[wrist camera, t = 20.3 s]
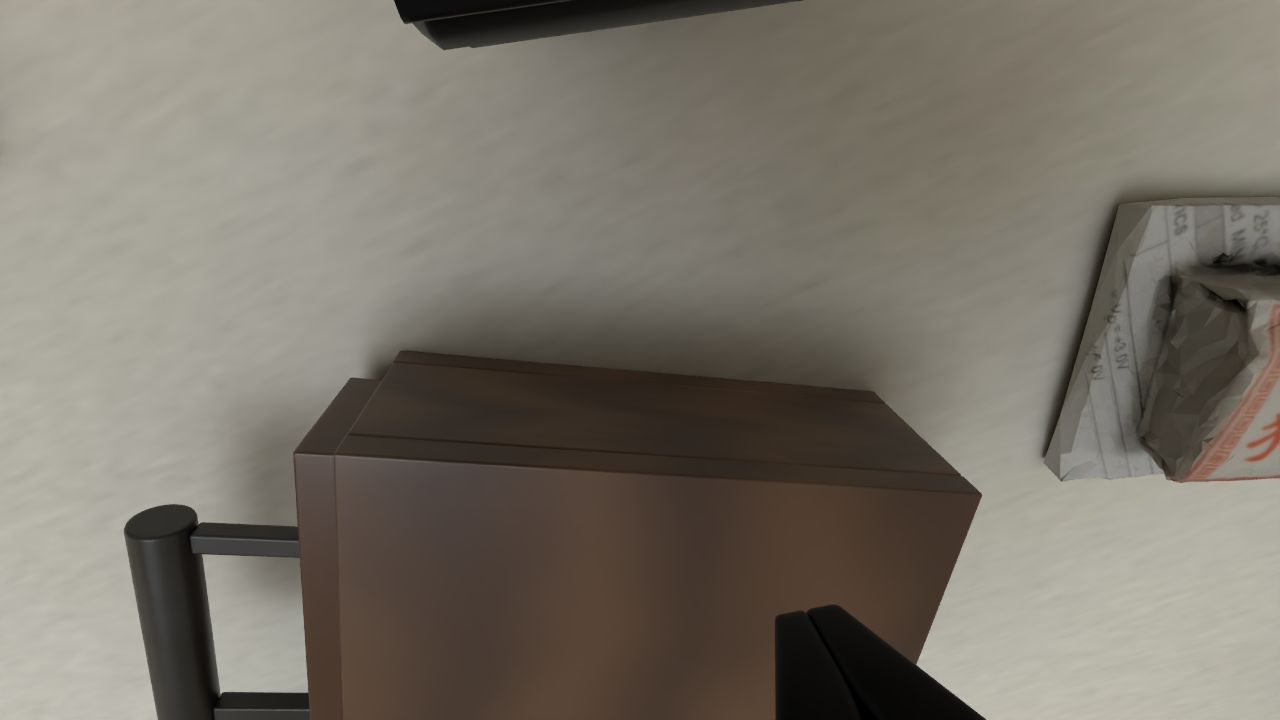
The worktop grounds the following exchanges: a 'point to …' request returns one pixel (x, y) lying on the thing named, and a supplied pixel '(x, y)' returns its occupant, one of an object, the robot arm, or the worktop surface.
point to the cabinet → (620, 538)
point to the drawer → (175, 544)
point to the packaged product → (1180, 348)
